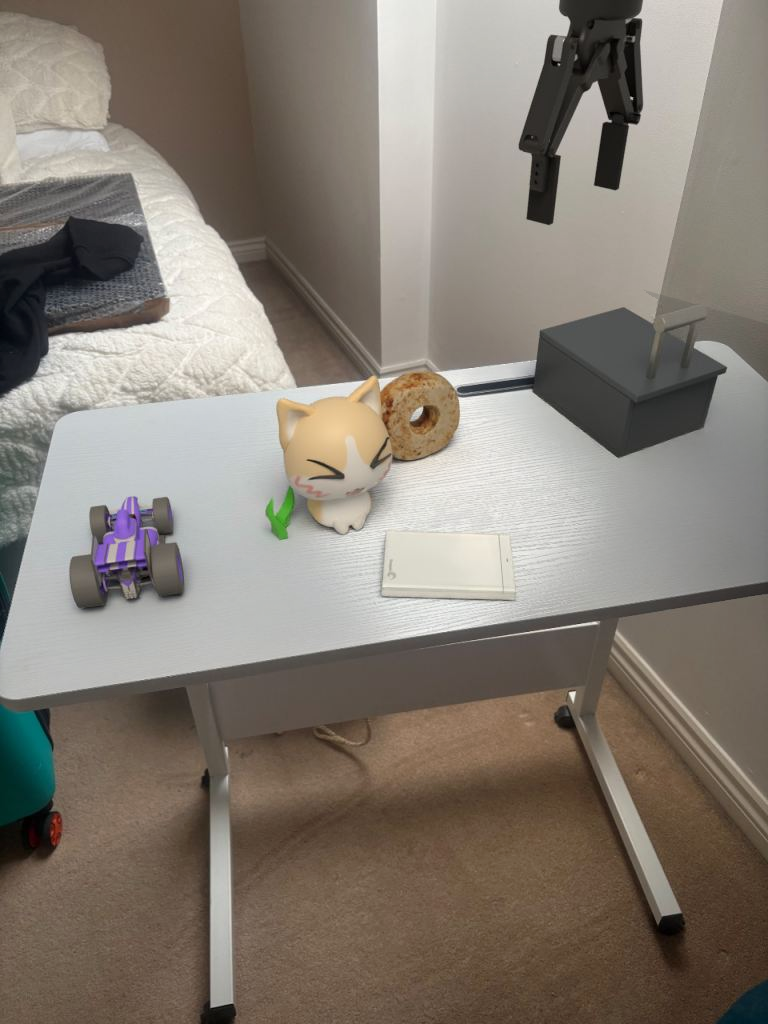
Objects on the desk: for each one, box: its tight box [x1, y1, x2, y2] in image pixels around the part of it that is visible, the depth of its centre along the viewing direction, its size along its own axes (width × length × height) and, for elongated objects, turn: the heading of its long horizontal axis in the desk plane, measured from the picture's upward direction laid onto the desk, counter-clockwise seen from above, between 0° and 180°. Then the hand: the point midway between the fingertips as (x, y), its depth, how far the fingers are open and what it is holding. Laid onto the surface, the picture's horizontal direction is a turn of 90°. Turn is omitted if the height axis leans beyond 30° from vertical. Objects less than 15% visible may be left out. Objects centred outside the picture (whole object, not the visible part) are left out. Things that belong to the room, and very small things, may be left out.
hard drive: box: [381, 530, 517, 601], centre depth 80 cm, size 2×8×12 cm
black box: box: [532, 336, 719, 459], centre depth 100 cm, size 17×13×8 cm
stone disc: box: [380, 370, 461, 461], centre depth 93 cm, size 10×4×10 cm, turn 116°
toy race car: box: [68, 495, 185, 609], centre depth 80 cm, size 10×15×6 cm, turn 12°
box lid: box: [538, 303, 728, 403], centre depth 95 cm, size 18×13×8 cm
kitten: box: [264, 375, 393, 540], centre depth 82 cm, size 15×10×15 cm
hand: (574, 203), depth 88 cm, fingers open, 13 cm apart
